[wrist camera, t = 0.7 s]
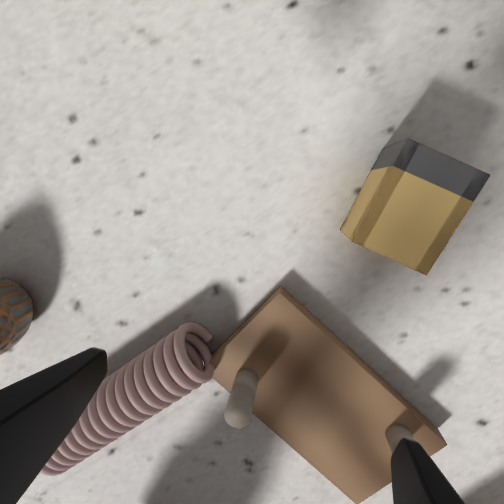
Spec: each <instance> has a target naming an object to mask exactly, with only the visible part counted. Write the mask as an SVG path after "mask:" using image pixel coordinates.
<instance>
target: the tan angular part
mask: <svg viewBox="0 0 504 504" xmlns="http://www.w3.org/2000/svg"><path fill="white" fill-rule="evenodd" d="M489 177H490V174H488V173H485V172H483V171H481V170H478V169H476V168H474V167H472V166H469V165H467V164H465V163H463V162H460V161H458V160H456V159H454V158H451V157H449V156H447V155H445V154H442V153H440V152H438V151H436V150H433V149H431V148H429V147H426V146H424V145H422V144H420V143H417V142H415V141H413V140H411V139H408V138H407V139H405V140H402V141H400V142H398V143H395V144H393V145H391V146H388V147H386V148H384V149H382V151H381V153H380V155H379V156H378V158H377V160H376V162H375V164H374V166H373V168H372V170H371V172H370V173H369V175H368V177H367V179H366V181H365V183H364V185H363V187H362V189H361V190H360V192H359V194H358V196H357V198H356V200H355V202H354V204H353V206H352V208H351V209H350V211H349V213H348V215H347V217H346V219H345V221H344V223H343V225H342V226H341V228H340V231H342V232H343V233H344V234H345V235H346V236H347V237H348V238H349V239H350V240H351V241H352V242H355V243H357V244H359V245H361V246H363V247H366V248H368V249H370V250H372V251H374V252H376V253H379V254H381V255H383V256H385V257H387V258H389V259H392V260H394V261H396V262H398V263H400V264H403V265H405V266H407V267H409V268H411V269H413V270H416V271H418V272H420V273H422V274H424V275H427V274H428V272H429V271H430V269H431V268H432V266H433V264H434V263H435V261H436V260H437V258H438V257H439V255H440V253H441V252H442V250H443V249H444V247H445V246H446V244H447V242H448V241H449V239H450V238H451V236H452V235H453V233H454V232H455V230H456V228H457V227H458V225H459V224H460V222H461V221H462V219H463V217H464V216H465V214H466V213H467V211H468V210H469V208H470V206H471V205H472V203H473V202H474V200H475V199H476V197H477V195H478V194H479V192H480V191H481V189H482V188H483V186H484V184H485V183H486V181H487V180H488V178H489Z"/></svg>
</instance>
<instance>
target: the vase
mask: <svg viewBox="0 0 504 504" xmlns="http://www.w3.org/2000/svg"><path fill="white" fill-rule="evenodd" d="M32 318H33V304H32V300H31V298H30V296H29V294H28V293H27V292H26V291H25V290H24V289H23V288H22V287H21V286H20V285H18V284H17V283H15V282H13V281H11V280H9V279H6V278H3V277H0V355H2V354H3V353H5V352H6V351H8V350H9V349H10V348H12V347H13V346H14V345H15V344H16V343H17V342H19V340H20V339H21V338H22V337H23V336H24V335H25V333H26V332H27V331H28V329H29V327H30V324H31V322H32Z"/></svg>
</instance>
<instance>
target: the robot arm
mask: <svg viewBox="0 0 504 504" xmlns="http://www.w3.org/2000/svg"><path fill="white" fill-rule="evenodd" d="M106 373H107V353H106V351H105V350H103V349H99V348H95V347H93V348H90V349H87V350H85V351H83V352H81V353H79V354H77V355H74V356H72V357H70V358H68V359H66V360H64V361H61V362H59V363H57V364H55V365H53V366H51V367H48V368H46V369H44V370H42V371H40V372H38V373H35V374H33V375H31V376H29V377H27V378H25V379H22V380H20V381H18V382H16V383H14V384H11V385H9V386H7V387H5V388H3V389H1V390H0V504H16V503H17V502H18V500H19V499H20V498H21V496H22V495H23V494H24V492H25V491H26V490H27V488H28V487H29V486H30V484H31V483H32V482H33V480H34V479H35V478H36V476H37V475H38V474H39V473H40V471H41V470H42V469H43V467H44V466H45V465H46V463H47V462H48V461H49V459H50V458H51V457H52V455H53V454H54V453H55V451H56V450H57V449H58V447H59V446H60V445H61V443H62V442H63V441H64V439H65V438H66V437H67V435H68V434H69V433H70V431H71V430H72V429H73V427H74V426H75V424H76V423H77V421H78V420H79V418H80V417H81V415H82V413H83V412H84V410H85V409H86V407H87V405H88V404H89V402H90V401H91V399H92V397H93V396H94V394H95V392H96V391H97V389H98V388H99V386H100V384H101V383H102V381H103V380H104V378H105V376H106ZM390 464H391V477H392V490H393V502H394V504H465V503H464V502H463V500H462V499H461V498H460V496H459V495H458V494H457V492H456V491H455V490H454V488H453V487H452V486H451V484H450V483H449V482H448V480H447V479H446V478H445V476H444V475H443V473H442V472H441V471H440V469H439V468H438V467H437V465H436V464H435V463H434V461H433V460H432V459H431V457H430V456H429V455H428V453H427V452H426V451H425V449H424V448H423V447H422V445H421V444H420V443H419V442H417V441H415V440H411V439H408V438H402V439H401V440H400V441H399V443H398V445H397V446H396V448H395V450H394V452H393V454H392V456H391V463H390Z"/></svg>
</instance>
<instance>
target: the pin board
mask: <svg viewBox="0 0 504 504" xmlns="http://www.w3.org/2000/svg"><path fill="white" fill-rule="evenodd" d="M209 364H212V365H213V366H214V374H213V377H212V378H213V379H215V380H216V381H217V382H218V383H219V384H220V385H221V386H223V387H224V388H225V389H226V390H227V391H228V392H229V393H230V396H229V399H228V402H227V406H226V409H225V412H224V418H225V421H226V422H227V423H228V424H229V425H230V426H232V427H234V428H245V427H246V426H248V425H249V424H250V422H251V417H252V413H253V414H254V415H256V416H257V417H258V418H259V419H260V420H261V421H262V422H263V423H265V424H266V425H267V426H268V427H269V428H270V429H271V430H273V431H274V432H275V433H276V434H277V435H278V436H279V437H281V438H282V439H283V440H284V441H285V442H286V443H287V444H288V445H290V446H291V447H292V448H293V449H294V450H295V451H296V452H298V453H299V454H300V455H301V456H302V457H303V458H304V459H306V460H307V461H308V462H309V463H310V464H311V465H312V466H313V467H315V468H316V469H317V470H318V471H319V472H320V473H321V474H323V475H324V476H325V477H326V478H327V479H328V480H329V481H331V482H332V483H333V484H334V485H335V486H336V487H337V488H339V489H340V490H341V491H342V492H343V493H344V494H345V495H346V496H348V497H349V498H350V499H351V500H352V501H353V502H354V503H356V504H359V503H361V502H362V501H364V500H365V499H367V498H368V497H370V496H371V495H373V494H374V493H376V492H377V491H379V490H380V489H382V488H383V487H385V486H386V485H388V484H389V483H391V482H392V477H391V464H390V463H391V456H392V454H393V452H394V450H395V448H396V446H397V445H398V443H399V441H400V440H401V439H402V438H408V439H411V440H415V441H417V442H419V443H420V444H421V445H422V447H423V448H424V449H425V451H426V452H427V453H428V455H429V456H431V455H433V454H434V453H436V452H437V451H439V450H440V449H442V448H444V447H445V446H447V443H446V442H445V440H444V438H443V437H442V435H441V433H440V432H439V430H438V429H437V428H436V427H435V426H434V425H433V424H432V423H431V422H430V421H429V420H427V419H426V418H425V417H424V416H423V415H422V414H421V413H420V412H419V411H418V410H416V409H415V408H414V407H413V406H412V405H411V404H410V403H409V402H408V401H407V400H405V399H404V398H403V397H402V396H401V395H400V394H399V393H398V392H397V391H396V390H394V389H393V388H392V387H391V386H390V385H389V384H388V383H387V382H386V381H385V380H383V379H382V378H381V377H380V376H379V375H378V374H377V373H376V372H375V371H374V370H372V369H371V368H370V367H369V366H368V365H367V364H366V363H365V362H364V361H363V360H361V359H360V358H359V357H358V356H357V355H356V354H355V353H354V352H353V351H352V350H350V349H349V348H348V347H347V346H346V345H345V344H344V343H343V342H342V341H341V340H339V339H338V338H337V337H336V336H335V335H334V334H333V333H332V332H331V331H330V330H328V329H327V328H326V327H325V326H324V325H323V324H322V323H321V322H320V321H319V320H317V319H316V318H315V317H314V316H313V315H312V314H311V313H310V312H309V311H308V310H306V309H305V308H304V307H303V306H302V305H301V304H300V303H299V302H298V301H297V300H295V299H294V298H293V297H292V296H291V295H290V294H289V293H288V292H287V291H286V290H284V289H283V288H282V287H281V286H280V287H279V288H278V289H277V290H276V291H275V292H274V293H273V294H272V295H271V296H270V297H269V298H268V299H267V300H266V301H265V302H264V303H263V304H262V305H261V306H260V307H259V308H258V309H257V310H256V311H255V312H254V313H253V314H252V315H251V316H250V317H249V318H248V319H247V320H246V321H245V322H244V323H243V324H242V325H241V326H240V327H239V328H238V329H237V330H236V331H235V332H234V333H233V334H232V335H231V336H230V337H229V338H228V339H227V340H226V341H225V342H224V343H223V344H222V345H221V346H220V347H219V348H218V349H217V350H216V351H215V352H214V353H213V354H212V358H211V360H210V362H209ZM204 369H205V366H204V367H203V370H204Z"/></svg>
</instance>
